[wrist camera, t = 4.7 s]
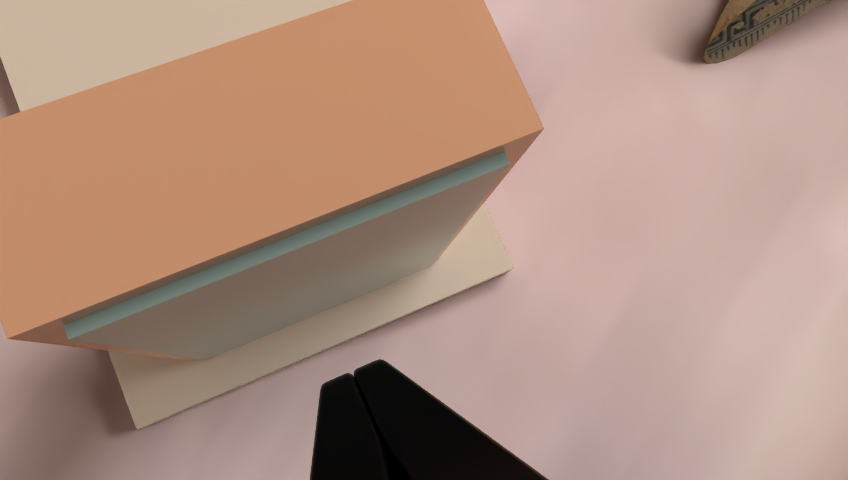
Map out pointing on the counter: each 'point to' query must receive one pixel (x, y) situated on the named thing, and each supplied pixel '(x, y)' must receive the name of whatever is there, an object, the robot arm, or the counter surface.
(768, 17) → the ceramic fragment
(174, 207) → the block
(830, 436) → the counter surface
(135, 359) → the mat
